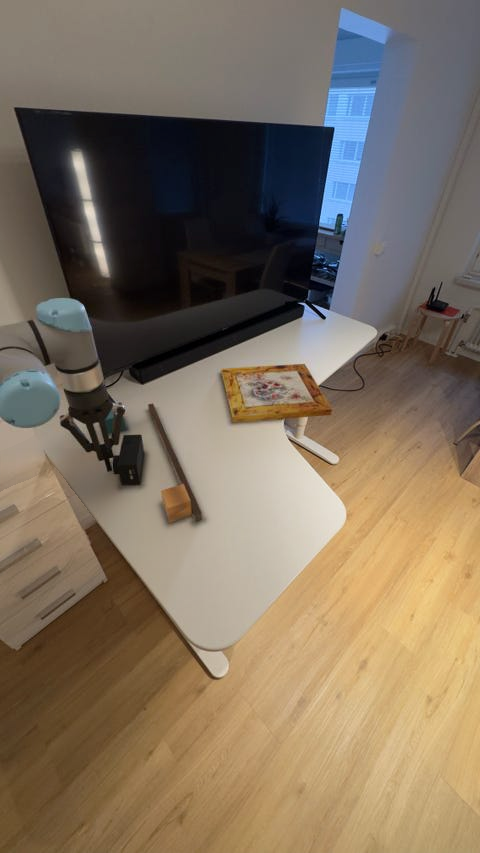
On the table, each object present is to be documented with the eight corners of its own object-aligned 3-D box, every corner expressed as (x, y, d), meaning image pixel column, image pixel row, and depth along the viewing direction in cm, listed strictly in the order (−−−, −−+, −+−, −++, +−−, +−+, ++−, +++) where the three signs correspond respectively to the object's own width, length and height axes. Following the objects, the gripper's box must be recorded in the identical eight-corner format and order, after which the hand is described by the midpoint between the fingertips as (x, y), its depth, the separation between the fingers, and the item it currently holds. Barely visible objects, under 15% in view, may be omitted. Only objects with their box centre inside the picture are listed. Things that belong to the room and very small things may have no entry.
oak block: (169, 522, 73) (167, 508, 69) (163, 505, 76) (160, 490, 73) (192, 514, 74) (190, 500, 71) (184, 498, 78) (183, 483, 75)
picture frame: (332, 409, 102) (232, 417, 97) (330, 415, 103) (232, 422, 99) (304, 363, 122) (221, 368, 118) (303, 369, 123) (221, 373, 119)
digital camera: (122, 454, 87) (118, 434, 83) (144, 454, 88) (141, 433, 84) (116, 486, 80) (111, 465, 75) (140, 485, 80) (136, 464, 76)
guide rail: (195, 522, 73) (194, 515, 71) (149, 411, 102) (147, 404, 100) (202, 519, 74) (201, 512, 72) (154, 410, 102) (153, 403, 101)
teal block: (107, 434, 93) (103, 420, 90) (105, 423, 97) (101, 409, 94) (126, 429, 95) (123, 415, 92) (123, 419, 98) (119, 405, 95)
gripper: (114, 367, 70) (132, 450, 86) (46, 379, 66) (79, 464, 81) (121, 386, 65) (139, 470, 80) (48, 401, 61) (82, 487, 76)
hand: (109, 467), depth 81 cm, fingers closed
